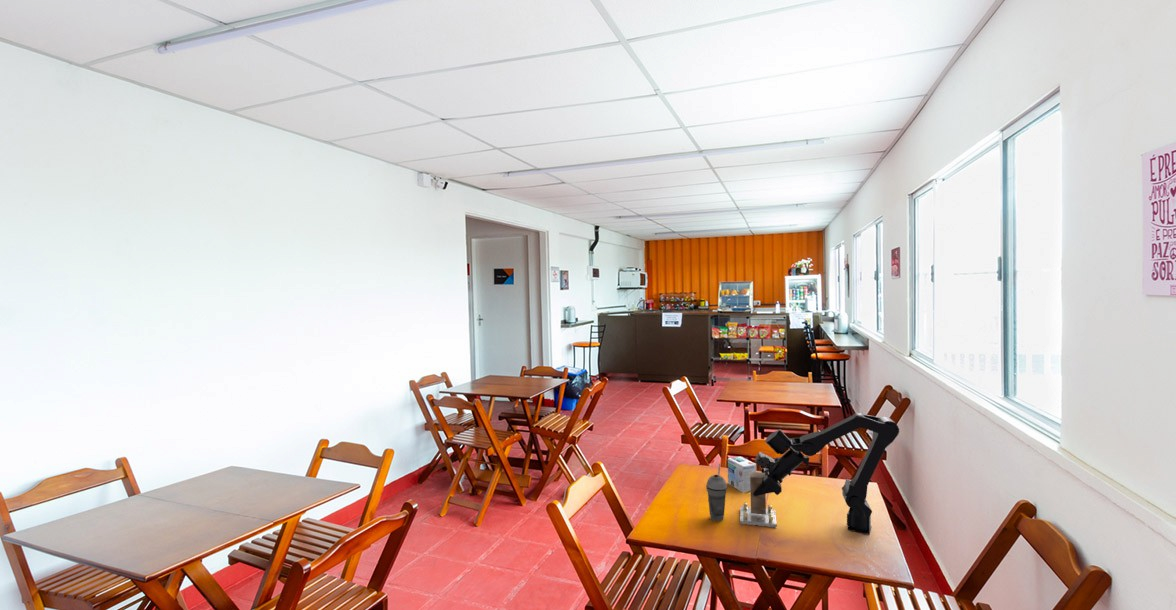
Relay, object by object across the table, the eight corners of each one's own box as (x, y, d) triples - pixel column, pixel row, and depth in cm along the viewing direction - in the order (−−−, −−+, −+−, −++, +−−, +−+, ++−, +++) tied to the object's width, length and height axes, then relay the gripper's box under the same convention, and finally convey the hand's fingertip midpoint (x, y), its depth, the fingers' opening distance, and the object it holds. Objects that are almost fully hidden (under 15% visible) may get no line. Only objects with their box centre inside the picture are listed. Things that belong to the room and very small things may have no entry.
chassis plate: (774, 512, 192) (774, 504, 192) (776, 527, 181) (776, 518, 180) (740, 509, 196) (740, 500, 195) (740, 523, 184) (740, 514, 184)
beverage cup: (710, 512, 193) (709, 458, 192) (730, 516, 190) (729, 461, 189) (703, 520, 187) (703, 464, 186) (724, 525, 183) (723, 468, 182)
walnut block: (765, 508, 190) (765, 472, 189) (765, 514, 185) (765, 478, 184) (750, 507, 191) (750, 471, 190) (750, 513, 186) (750, 476, 186)
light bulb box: (727, 483, 220) (726, 458, 220) (740, 481, 223) (740, 455, 222) (743, 493, 210) (743, 466, 210) (757, 490, 213) (757, 463, 212)
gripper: (768, 438, 195) (737, 465, 198) (770, 454, 177) (736, 484, 180) (791, 461, 193) (759, 488, 196) (796, 480, 175) (761, 509, 179)
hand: (753, 491), depth 188 cm, fingers closed on walnut block, 5 cm apart
